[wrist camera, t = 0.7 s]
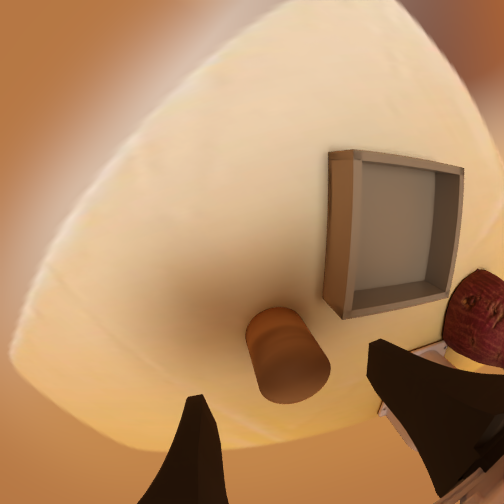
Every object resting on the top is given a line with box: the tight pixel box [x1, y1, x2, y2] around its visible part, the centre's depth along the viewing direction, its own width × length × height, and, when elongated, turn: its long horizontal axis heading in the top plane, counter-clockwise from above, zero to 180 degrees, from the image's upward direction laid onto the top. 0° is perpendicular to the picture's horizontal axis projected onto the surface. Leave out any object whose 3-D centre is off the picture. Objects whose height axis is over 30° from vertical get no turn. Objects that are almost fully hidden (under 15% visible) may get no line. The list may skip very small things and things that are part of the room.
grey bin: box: [323, 149, 464, 320], centre depth 18 cm, size 11×11×4 cm
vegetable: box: [443, 269, 504, 369], centre depth 19 cm, size 10×10×15 cm
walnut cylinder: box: [246, 307, 331, 404], centre depth 18 cm, size 5×5×6 cm
